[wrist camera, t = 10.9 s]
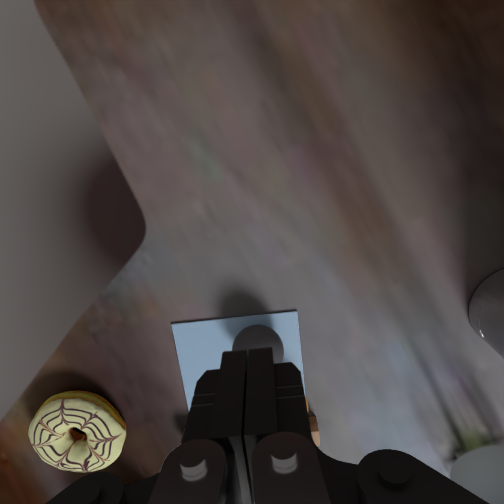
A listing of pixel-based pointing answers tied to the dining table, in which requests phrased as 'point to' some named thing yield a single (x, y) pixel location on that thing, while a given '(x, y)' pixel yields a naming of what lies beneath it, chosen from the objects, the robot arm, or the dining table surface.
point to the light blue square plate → (228, 343)
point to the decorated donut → (71, 442)
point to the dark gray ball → (259, 340)
